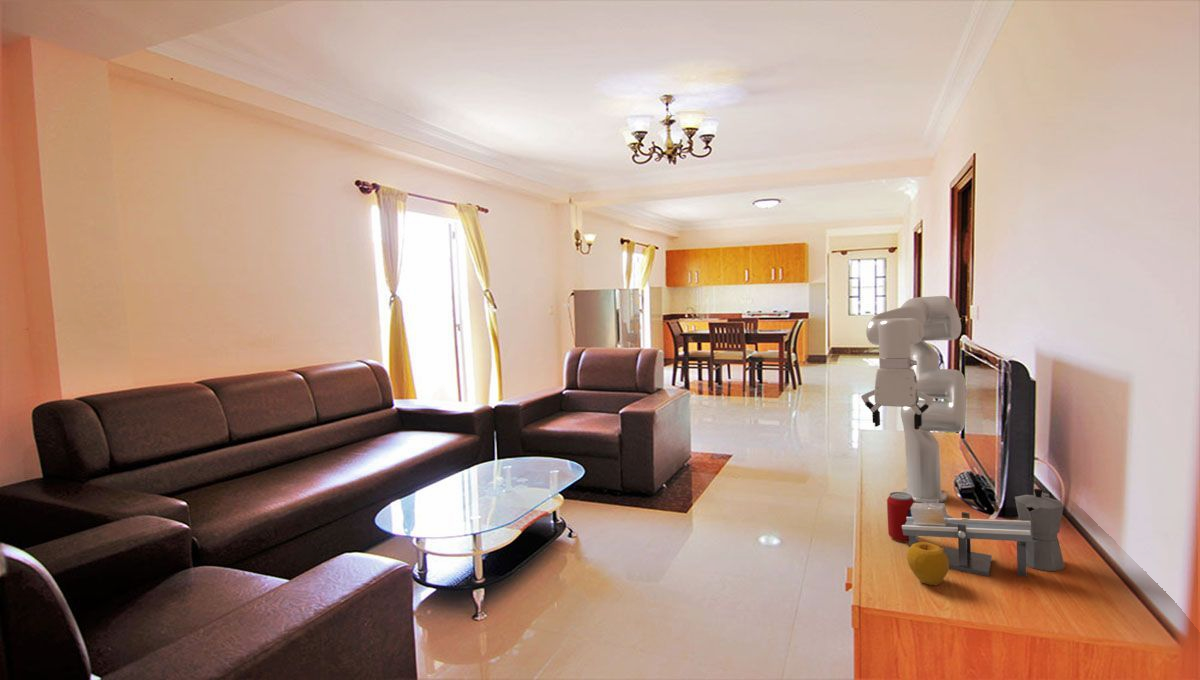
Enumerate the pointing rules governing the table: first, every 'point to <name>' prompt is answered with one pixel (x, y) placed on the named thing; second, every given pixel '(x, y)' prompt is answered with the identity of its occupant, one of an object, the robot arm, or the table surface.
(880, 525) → the table surface
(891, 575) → the table surface
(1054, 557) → the coffeepot
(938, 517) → the rider
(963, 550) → the stand
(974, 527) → the beam
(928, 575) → the apple
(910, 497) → the beverage can
